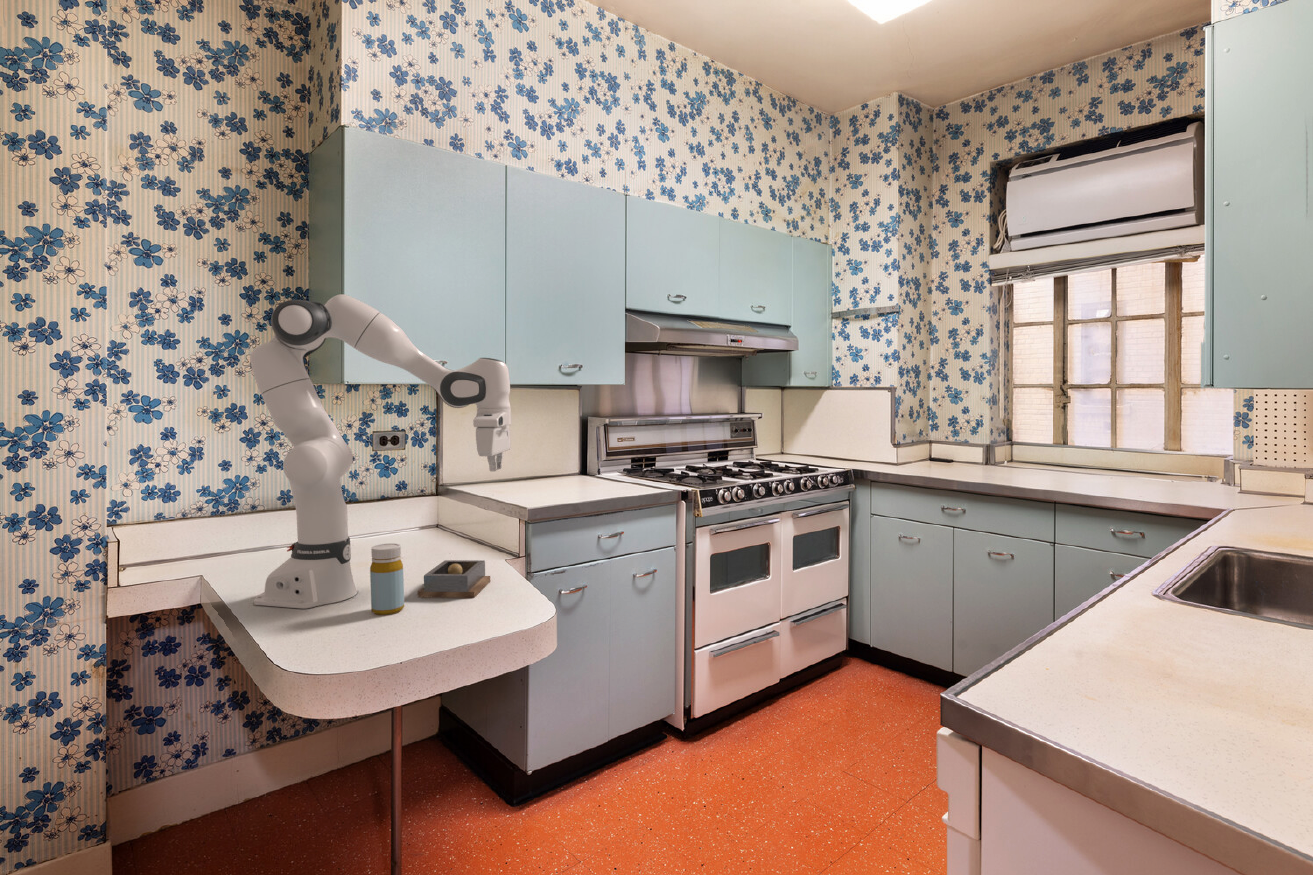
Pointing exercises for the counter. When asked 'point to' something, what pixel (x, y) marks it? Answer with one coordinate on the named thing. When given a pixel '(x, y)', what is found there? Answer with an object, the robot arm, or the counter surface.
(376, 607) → the bottle
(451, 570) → the keeper
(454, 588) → the grey open tray
